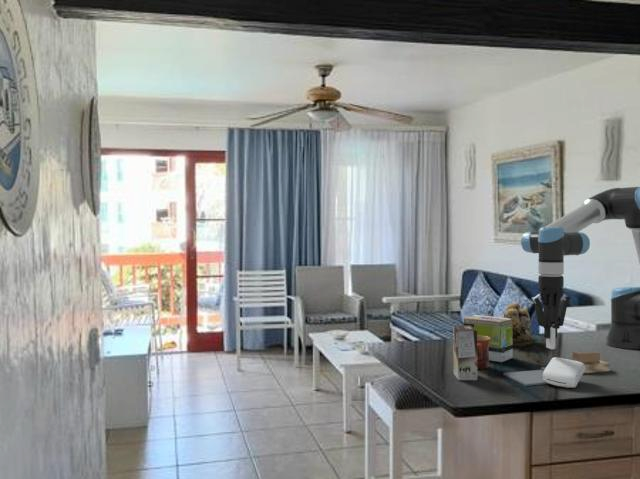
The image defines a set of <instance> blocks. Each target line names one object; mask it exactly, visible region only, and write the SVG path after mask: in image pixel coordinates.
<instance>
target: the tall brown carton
mask: <svg viewBox="0 0 640 479" xmlns="http://www.w3.org/2000/svg"><path fill="white" fill-rule="evenodd" d="M600 356H601V355H600V352H599V351H597V350H584V351H583V350H582V351H581V350H579V351H572V357H571V358H572V359H571V360H574V361H578V362H582V363H583V364H592V363H600V360H601V359H600V358H601V357H600Z"/></svg>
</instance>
